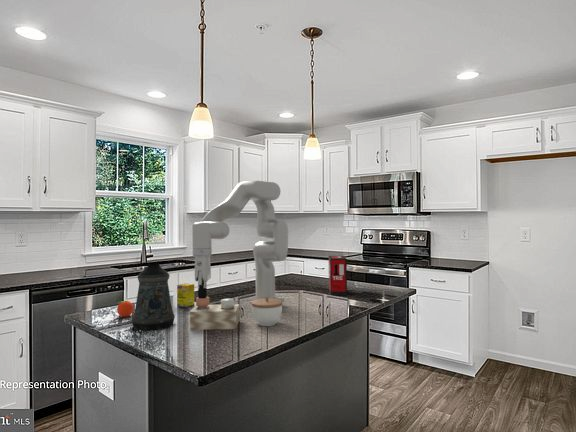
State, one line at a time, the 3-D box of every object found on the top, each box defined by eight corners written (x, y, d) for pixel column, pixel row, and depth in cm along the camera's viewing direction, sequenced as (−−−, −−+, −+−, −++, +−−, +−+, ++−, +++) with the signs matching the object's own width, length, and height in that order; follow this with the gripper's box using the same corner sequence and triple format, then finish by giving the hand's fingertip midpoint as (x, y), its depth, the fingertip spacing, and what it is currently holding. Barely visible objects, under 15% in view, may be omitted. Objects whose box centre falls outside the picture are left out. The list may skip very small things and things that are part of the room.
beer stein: (138, 334, 151) (137, 268, 151) (125, 323, 166) (124, 263, 166) (180, 326, 160) (180, 264, 160) (164, 316, 176) (164, 260, 176)
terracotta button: (210, 318, 164) (210, 296, 164) (208, 321, 159) (208, 299, 159) (197, 318, 164) (197, 296, 164) (195, 321, 159) (194, 299, 159)
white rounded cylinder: (234, 320, 165) (234, 298, 164) (233, 323, 159) (233, 301, 159) (222, 320, 164) (222, 298, 164) (220, 323, 159) (220, 301, 159)
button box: (239, 320, 168) (238, 304, 168) (235, 329, 156) (235, 311, 156) (196, 321, 168) (196, 304, 168) (189, 329, 156) (189, 311, 156)
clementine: (113, 319, 173) (113, 302, 173) (115, 315, 179) (115, 299, 179) (133, 317, 175) (132, 301, 175) (134, 314, 181) (134, 298, 181)
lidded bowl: (266, 318, 172) (266, 292, 172) (288, 322, 164) (288, 296, 164) (245, 324, 162) (245, 297, 162) (268, 330, 154) (268, 301, 154)
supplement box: (177, 307, 194) (176, 284, 194) (185, 304, 199) (185, 282, 199) (186, 308, 191) (186, 285, 191) (194, 305, 197) (194, 283, 197)
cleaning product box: (346, 295, 219) (346, 258, 219) (330, 295, 220) (330, 258, 220) (343, 289, 236) (343, 255, 236) (328, 289, 236) (328, 255, 236)
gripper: (208, 254, 154) (208, 301, 154) (214, 250, 169) (214, 294, 169) (188, 254, 154) (188, 301, 154) (196, 251, 169) (197, 294, 169)
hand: (202, 297), depth 162 cm, fingers closed
